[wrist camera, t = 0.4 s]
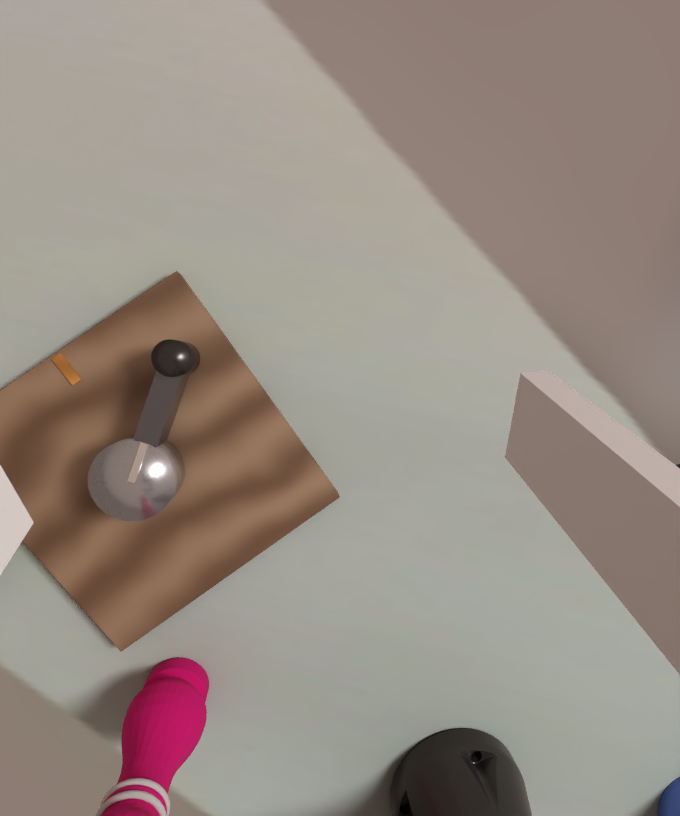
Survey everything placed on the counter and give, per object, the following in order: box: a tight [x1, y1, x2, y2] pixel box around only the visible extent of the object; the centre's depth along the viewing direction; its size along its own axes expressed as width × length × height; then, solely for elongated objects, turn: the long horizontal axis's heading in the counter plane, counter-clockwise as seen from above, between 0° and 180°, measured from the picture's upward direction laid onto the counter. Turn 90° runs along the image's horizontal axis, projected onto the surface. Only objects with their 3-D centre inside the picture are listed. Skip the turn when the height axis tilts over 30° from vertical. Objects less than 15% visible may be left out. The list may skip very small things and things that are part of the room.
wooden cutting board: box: [0, 271, 339, 651], centre depth 40 cm, size 26×26×2 cm
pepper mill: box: [96, 658, 209, 816], centre depth 34 cm, size 7×7×20 cm
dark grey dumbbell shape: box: [88, 339, 200, 521], centre depth 37 cm, size 16×7×4 cm, turn 159°
